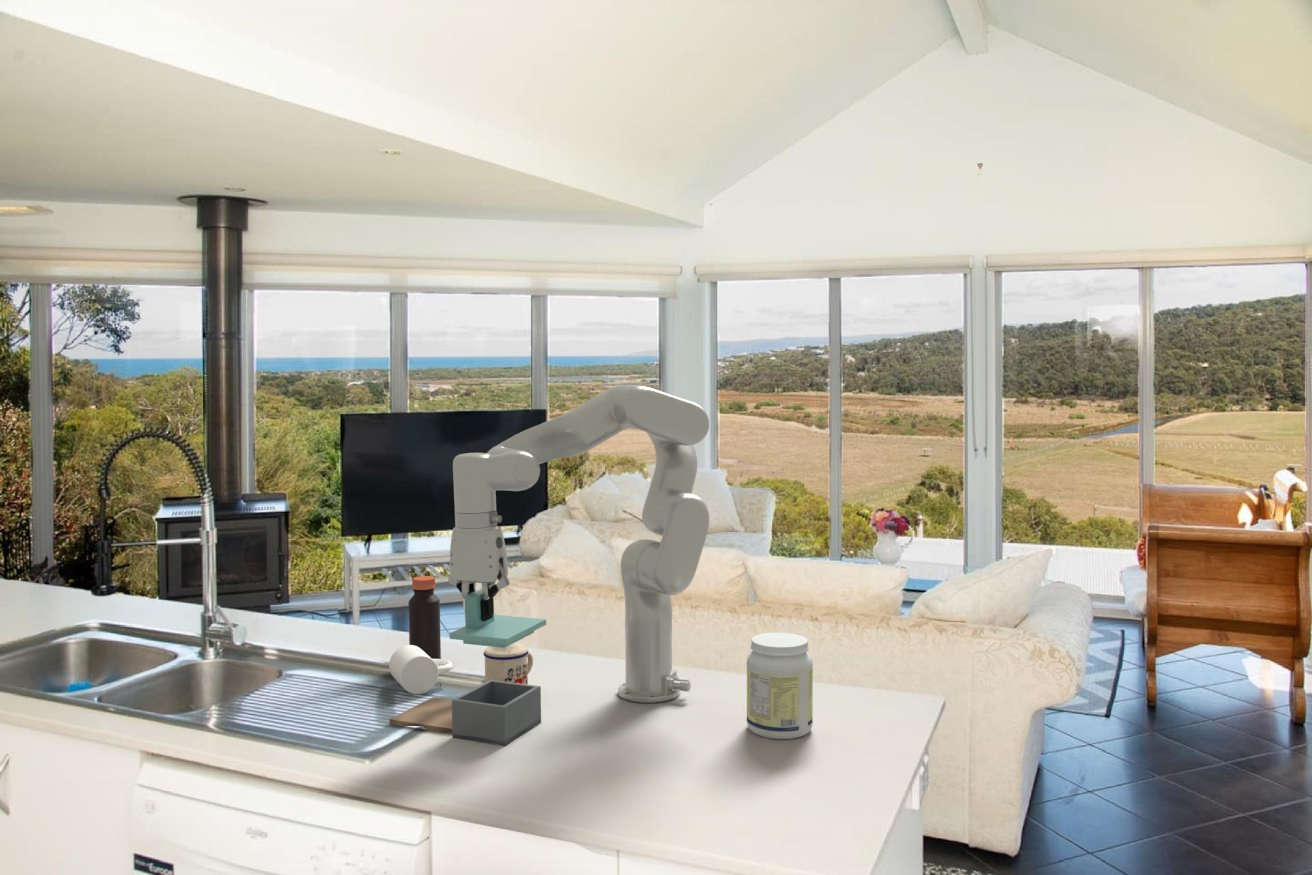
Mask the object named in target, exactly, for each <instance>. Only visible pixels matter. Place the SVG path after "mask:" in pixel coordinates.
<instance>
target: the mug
mask: <svg viewBox="0 0 1312 875" xmlns="http://www.w3.org/2000/svg"><path fill="white" fill-rule="evenodd" d="M437 665H440V666H439V667H438V666H437ZM388 668H389V672H390V675H392V677H393V678H394V679H395V680H396V681H397V683H398V684H399V685H400V686H401V687H402V688H403V689H404V690H405V691H406V692H407V693H410V694H412V695H423V694H426V693H427V692H429V691H431V689H433V687H435V685H436V684H437V682H438V679H439V674H445V673H448V672H450V671H451V670H452V669H453V663H452V661H450V660H447V659H442V658H441V659H432V658H430V657H429V656H428V655H427V654H426V653H425V652H424V651H423V650H422V649H420V648H419V647H417V646H414V645H409V644H407V645H402V646H400V647H398V648H397V649H396V650H395V651H394V652H393V653H392V654H391V656H390V659H389V662H388Z"/></svg>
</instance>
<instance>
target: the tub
mask: <svg viewBox="0 0 1312 875" xmlns="http://www.w3.org/2000/svg"><path fill="white" fill-rule="evenodd" d="M541 691H542V688H541V686H540V685H532V684H528V685H527V684H519V683H512V682H504V681H497V680H489V681H487V682H485V681H484V682H483V683H482V684H478V686H475V687H474V688H471V689H470V690H468V691H467V692H464V693H462V694H460V695H458V696H457V697H455V698H452V699H451V700H452V734H451V735H452V738H453V739H459V740H464V741H465V740H466V741H471V742H475V743H484V744H490V745H497V746H501V747H502V746H503V747H506V746H508V745H509V744H510V743H512V742H515V740H516V739H518V738H519V737H521V736H523V735H524V734H526V733H527V732H529V731H530V730H532V729H534V728H535V727H537V726H539V725H540V724H542V694H541V693H542V692H541Z"/></svg>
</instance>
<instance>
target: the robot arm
mask: <svg viewBox="0 0 1312 875" xmlns="http://www.w3.org/2000/svg"><path fill="white" fill-rule="evenodd" d="M709 428H710V420H709V416H708V413H707V412H706V410H705V409H704V408H703V407H702V406H701V405H700V404H698V403H696V402H694V401H690V400H687V399H684V398H681V397H678V396H676V395H672V394H669V393H667V392H663V391H660V390H657V389H655V388H651V387H648V386H645V385H632V384H631V385H630V384H629V385H628V384H621V385H616V386H612V387H610V388H609V389H607V390H605V391H603V392H601V393H599V394H598V395H596V396H593V397H592V398H591V399H588V400H587V401H586V402H584V403H582V404H579V405H578V406H576V407H575V408H573V409H571V410H569V411H567V412H565V413H564V414H561V415H559V416H557V417H555V418H552V419H549V420H547V421H543V422H542V423H540V424H537V425H535V426H531V427H529V428H528V429H525V430H522V431H521V432H519V433H517V434H514V435H513V436H511V437H509V438H508V439H506V440H504V441H502V442H500V443H499V444H497V445H495V446H493V447H492V448H491V449H489V450H488V451H487V452H486V453H485V452H467V453H459V454H458V455H456V456H454V459H453V461H452V472H453V473H452V476H453V498H454V499H453V500H454V522H455V523H454V524H455V525H454V526H455V527H453V528H452V533H451V539H450V546H449V549H450V551H449V569H450V571H449V572H450V573H449V576H448V579H447V582H448V584H450V585H452V586H454V587H456V588H457V590H458V591H459V592H460V593H461V597H462V598H463V599H464V596H465V595H468V594H470V593H473V592H475V591H477V590H476V583H478V584H481V589H482V596H483V599H482V600H481V620H482V621H487V620H489V619H491V618H493V614H494V615H495V606H494V605H495V604H494V605H493V598H494V597H496V596H497V594H498V593H499V592H500V591H501V590H503V589H505V588H507V587H509V586H510V584H511V583H510V581H509V579H508V576H509V565H508V555H507V546H506V543H505V537H504V533H503V529H502V527H501V526H498V523H502V520H503V516H502V515H499V514H498V510H497V496H496V491H511V492H521V491H525V490H528V489H530V488H532V487H533V486H535V484H537V482H538V481H539V477H540V474H541V467H540V465H541V464H544V463H547V462H550V461H555V460H557V459H558V460H559V459H565V458H571V457H575V456H579V455H582V454H583V455H584V454H586V453H587V452H590V451H591V450H592V449H594V448H596V447H598V446H599V445H601V444H602V443H605V442H606V441H607V440H609V439H611V438H613V437H615V436H616V435H618V434H620V433H621V432H623V431H625V430H628V429H631V430H639V431H643V432H646V434H647V436H648V437H649V438H650V441H651V442H652V444H653V446H654V447H653V448H654V450H655V454H656V455H655V456H656V457H655V458H656V460H655V461H656V463H655V466H654V467H655V468H654V470H653V471H654V472H653V476H652V478H651V482H650V486H649V489H648V491H647V495H646V498H645V501H644V505H643V507H642V512H641V520H642V523H643V525H644V527H645V528H646V529H647V530H648V531H650V532H651V533H653V534H656V535H658V536H661V540H660V541H656V540H654V539H647V538H646V539H645V538H643V539H637V540H635V541H633V542H631V543H630V544H629V545H628V546H627V547H625V548H624V551H623V552H622V555H621V558H620V573H621V574H620V575H621V580H622V585H623V590H624V591H623V593H624V609H625V610H624V611H625V617H624V618H625V619H624V620H625V621H624V626H625V627H624V629H625V632H624V633H625V635H624V636H625V637H624V638H625V639H624V640H625V643H624V645H625V647H624V648H625V682H624V683H621V684H620V685H619V686H618V688H617V693H618V695H619V697H620V698H622V699H625V700H626V701H631V702H635V703H643V704H644V703H646V704H647V703H648V704H649V703H661V702H666V701H671V700H674V699H676V698H677V697H678V696H679V695H680V694H681V693H680V692H681V691H682V692H690V690H691V687H692V686H691V682H690V680H689V678H679V677H678V676H677V675H678V674H677V673H678V671H677V670H676V669H675V670H673V606H672V598H671V596H677V595H680V594H681V593H683V592H684V591H685V590H687V589H688V588H689V586H690V584H691V583H692V581H693V579H694V577H695V575H696V572H697V569H698V565H699V562H700V559H701V556H702V553H703V550H704V546H705V543H706V539H707V535H708V531H709V528H710V511H709V509H708V506H707V504H706V502H705V501H704V500H703V499H702V498H701V497H699V496H697V495H696V494H693V489H694V485H695V481H696V476H697V472H698V457H697V453H696V449H695V447H694V445H696V444H699V443H700V442H701V441H703V440H704V439H705V438H706V436H707V435H708V432H709ZM496 582H497V583H496Z"/></svg>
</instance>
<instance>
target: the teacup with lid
mask: <svg viewBox="0 0 1312 875" xmlns="http://www.w3.org/2000/svg"><path fill="white" fill-rule="evenodd" d="M483 656H484V676H485V677H484V679H485V680H484V683H485V682H487V681H489V680H497V681H504V682H512V683H519V684H527V685H529V684H528V683H529V681H528V680H529V679H528V678H529V677H528V676H529V673H530V672H531V671H532V669H533V665H534V656H533V654H532V653H531V652H529V649H528V647H526V646H525V645H524V644H521V643H520V644H519V643H517V642H515V643H513V644H511V645H509V646H507V647H505V648H501V647H491V646H486V648H485V649H484V651H483Z"/></svg>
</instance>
